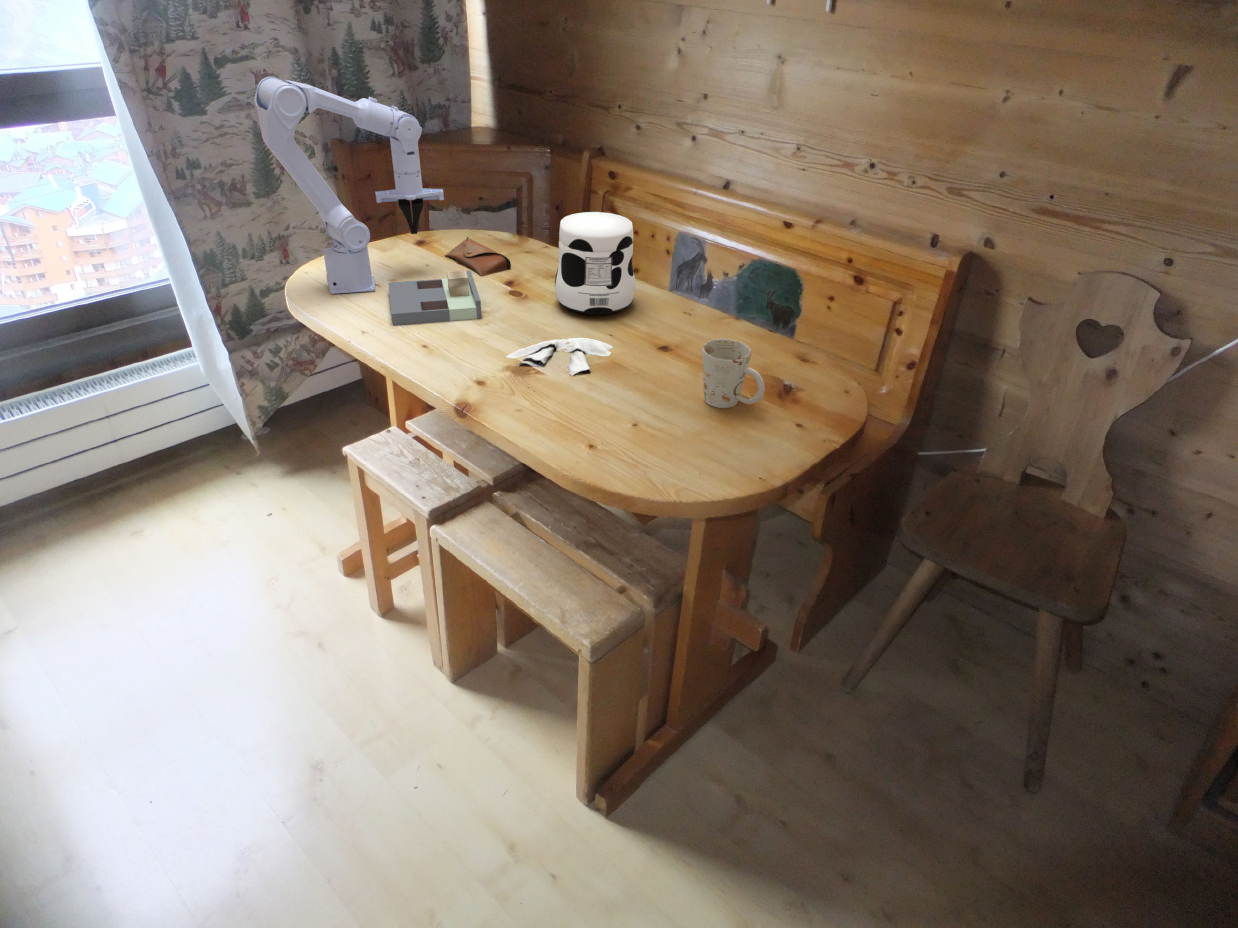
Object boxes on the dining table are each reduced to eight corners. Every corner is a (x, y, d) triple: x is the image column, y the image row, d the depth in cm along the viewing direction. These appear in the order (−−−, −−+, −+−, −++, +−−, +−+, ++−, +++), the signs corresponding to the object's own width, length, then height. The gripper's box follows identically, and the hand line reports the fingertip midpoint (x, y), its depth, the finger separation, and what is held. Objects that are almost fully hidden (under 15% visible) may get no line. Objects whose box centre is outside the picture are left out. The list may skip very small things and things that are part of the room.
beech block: (450, 297, 171) (448, 279, 168) (448, 289, 174) (446, 272, 172) (469, 295, 172) (468, 277, 169) (467, 288, 175) (465, 270, 173)
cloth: (624, 345, 162) (624, 334, 160) (594, 397, 144) (594, 385, 143) (528, 331, 166) (527, 321, 164) (487, 380, 148) (486, 368, 147)
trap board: (393, 325, 164) (390, 307, 162) (389, 293, 177) (387, 276, 175) (481, 318, 168) (480, 300, 166) (471, 287, 182) (470, 270, 180)
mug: (714, 384, 148) (720, 334, 143) (773, 407, 142) (782, 356, 136) (688, 400, 143) (693, 349, 137) (748, 425, 136) (756, 373, 131)
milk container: (596, 283, 186) (598, 205, 176) (650, 306, 177) (655, 225, 166) (538, 302, 176) (537, 221, 166) (593, 328, 166) (594, 243, 156)
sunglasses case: (440, 255, 198) (450, 229, 196) (462, 264, 203) (472, 239, 202) (482, 277, 187) (493, 250, 186) (504, 285, 193) (515, 259, 191)
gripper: (373, 177, 170) (381, 240, 178) (442, 174, 174) (448, 236, 181) (372, 168, 176) (380, 230, 184) (439, 166, 179) (445, 226, 187)
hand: (414, 232), depth 183 cm, fingers closed
